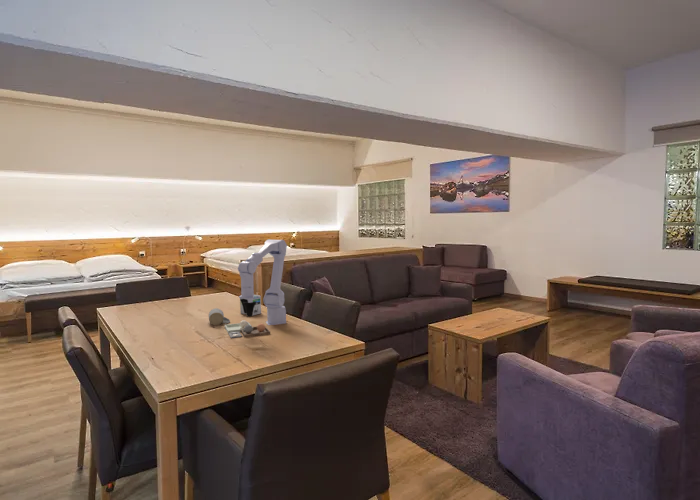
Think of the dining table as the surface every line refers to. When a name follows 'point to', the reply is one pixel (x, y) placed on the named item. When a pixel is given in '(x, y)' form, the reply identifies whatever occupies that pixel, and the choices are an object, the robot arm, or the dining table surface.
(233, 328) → the sage tray
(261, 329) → the terracotta ball
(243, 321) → the cream ball
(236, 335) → the tile
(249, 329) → the grey ball
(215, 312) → the ceramic mug
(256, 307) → the light bulb box
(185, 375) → the dining table surface
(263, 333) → the walnut tray
